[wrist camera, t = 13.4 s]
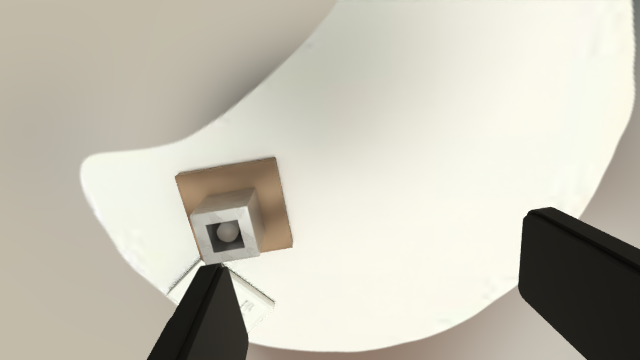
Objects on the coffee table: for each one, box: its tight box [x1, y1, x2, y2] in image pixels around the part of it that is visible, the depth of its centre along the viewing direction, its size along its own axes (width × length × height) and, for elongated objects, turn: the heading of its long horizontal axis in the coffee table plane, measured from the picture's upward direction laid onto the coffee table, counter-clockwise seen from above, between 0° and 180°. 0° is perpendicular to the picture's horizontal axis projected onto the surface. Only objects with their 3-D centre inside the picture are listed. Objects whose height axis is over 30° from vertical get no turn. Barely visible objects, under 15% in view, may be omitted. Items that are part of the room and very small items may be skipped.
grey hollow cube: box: [190, 187, 266, 265], centre depth 34 cm, size 6×6×6 cm
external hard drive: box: [166, 259, 275, 333], centre depth 42 cm, size 2×8×12 cm
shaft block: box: [175, 158, 293, 262], centre depth 35 cm, size 12×12×6 cm
